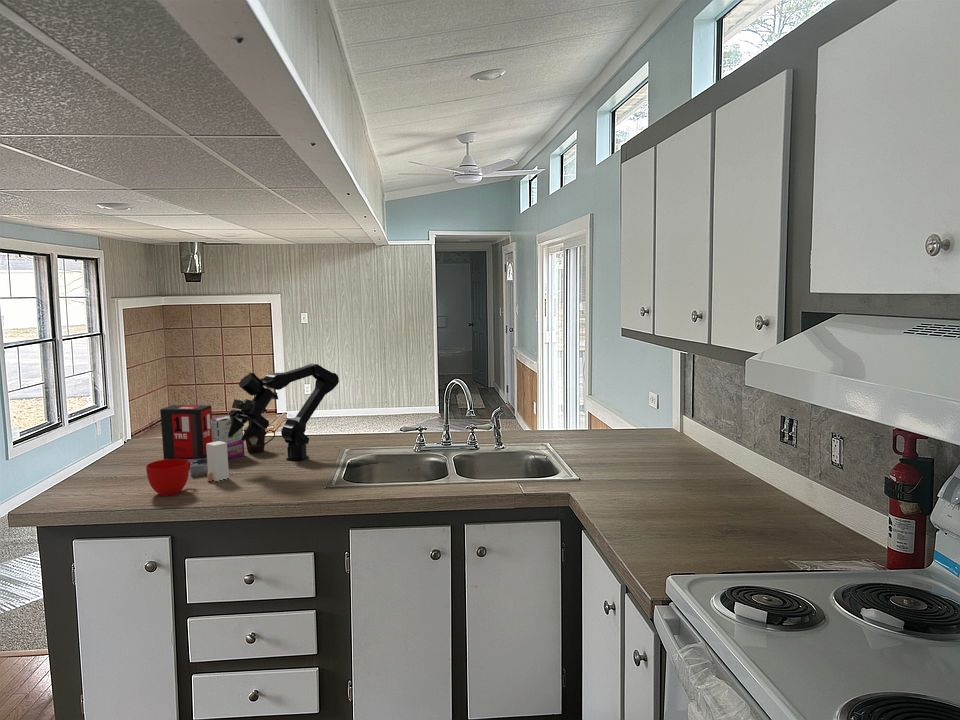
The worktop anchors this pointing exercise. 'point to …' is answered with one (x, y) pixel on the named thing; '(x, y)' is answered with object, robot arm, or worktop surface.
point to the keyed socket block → (198, 466)
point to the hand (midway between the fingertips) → (235, 438)
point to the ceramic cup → (168, 475)
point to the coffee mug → (257, 441)
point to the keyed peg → (217, 461)
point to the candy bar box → (221, 434)
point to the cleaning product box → (186, 431)
